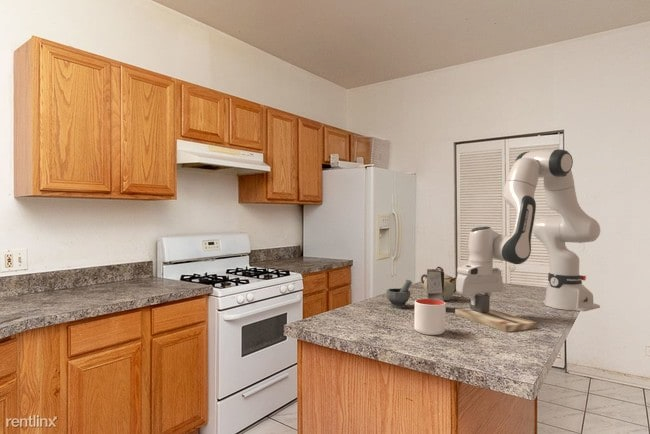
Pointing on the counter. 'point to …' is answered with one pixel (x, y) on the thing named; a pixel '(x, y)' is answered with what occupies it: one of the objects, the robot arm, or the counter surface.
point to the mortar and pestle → (399, 295)
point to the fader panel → (496, 319)
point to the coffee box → (435, 284)
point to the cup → (430, 316)
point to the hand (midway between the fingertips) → (479, 304)
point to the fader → (481, 303)
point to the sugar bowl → (448, 285)
